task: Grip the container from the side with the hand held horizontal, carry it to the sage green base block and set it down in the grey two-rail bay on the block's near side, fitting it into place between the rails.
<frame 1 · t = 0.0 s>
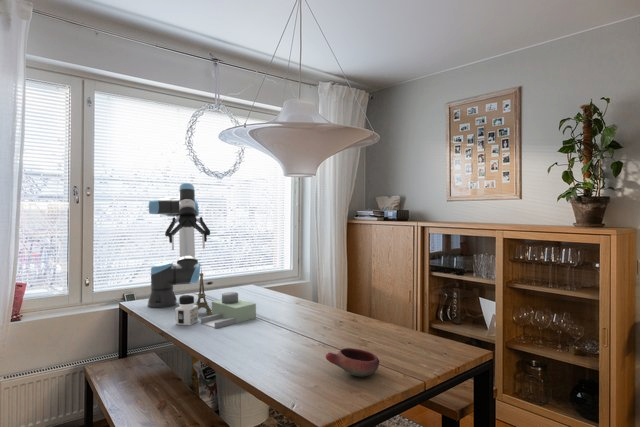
hand: (188, 247, 191), 36 cm above the table, tool tilted 35°, fingers open, 13 cm apart
eiffel tower: (202, 314, 212), on the table
bowl: (355, 376, 133), on the table
sage green base block: (233, 316, 205), on the table
container: (187, 323, 195), on the table
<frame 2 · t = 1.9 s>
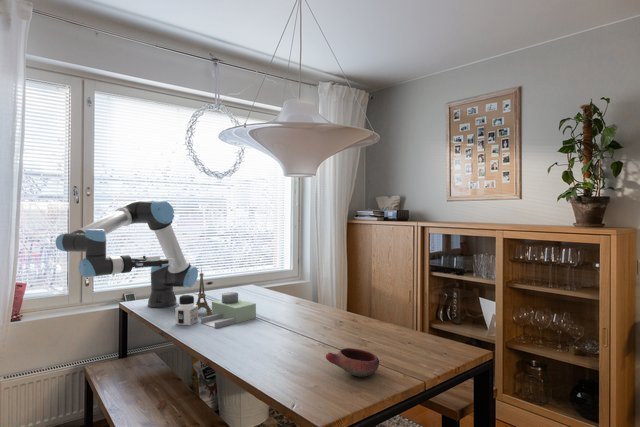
hand: (166, 259, 194), 30 cm above the table, tool horizontal, fingers open, 13 cm apart
nothing on the table moved.
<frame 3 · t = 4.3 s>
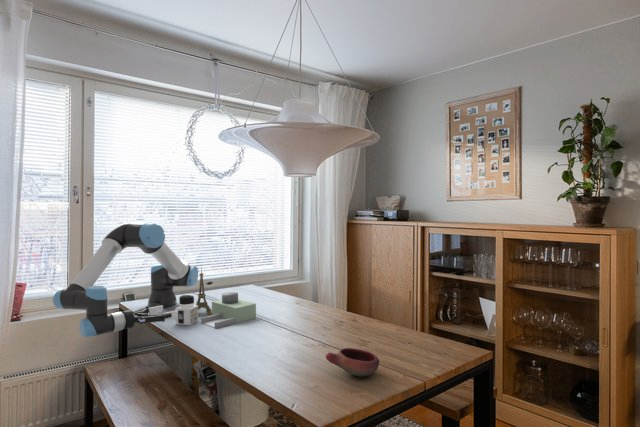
hand: (169, 310, 189), 7 cm above the table, tool horizontal, fingers open, 13 cm apart
nothing on the table moved.
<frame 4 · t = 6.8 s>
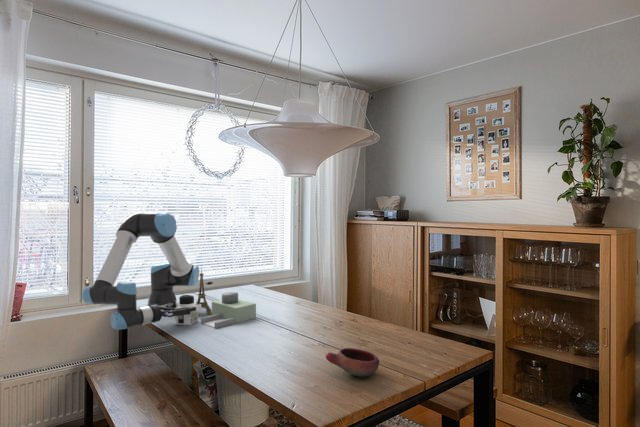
hand: (194, 305, 198), 8 cm above the table, tool horizontal, fingers closed on container, 10 cm apart
container: (187, 323, 195), on the table, touching gripper
everything else where it was.
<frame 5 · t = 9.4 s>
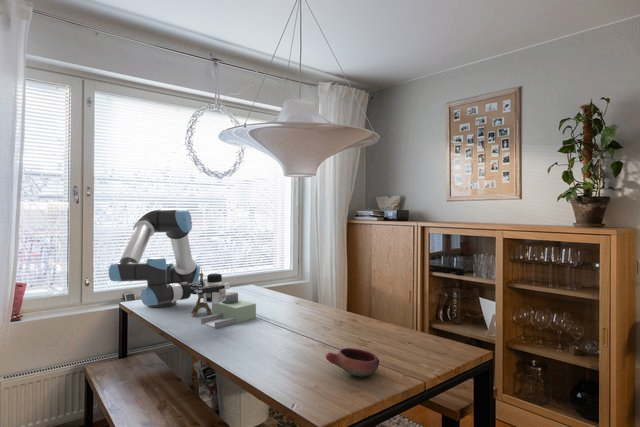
hand: (222, 284, 196), 18 cm above the table, tool horizontal, fingers closed on container, 10 cm apart
container: (214, 302, 193), point 10 cm above the table, touching gripper
everything else where it was.
when the fingers open (9 cm above the table, at t = 12.1 s): container stays where it is, resting on sage green base block.
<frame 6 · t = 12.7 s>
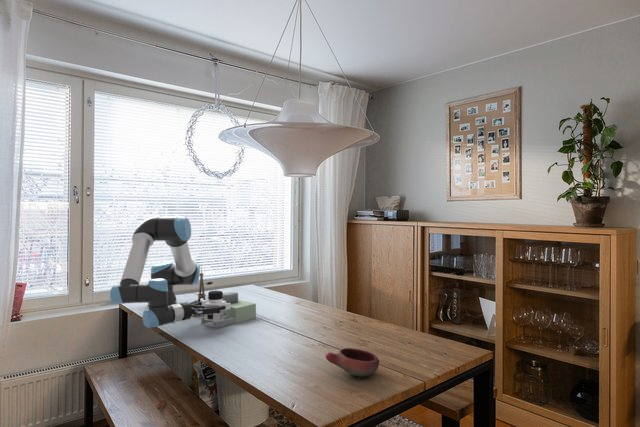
hand: (221, 303, 195), 9 cm above the table, tool horizontal, fingers open, 13 cm apart
container: (215, 319, 193), point 2 cm above the table, touching sage green base block
everything else where it was.
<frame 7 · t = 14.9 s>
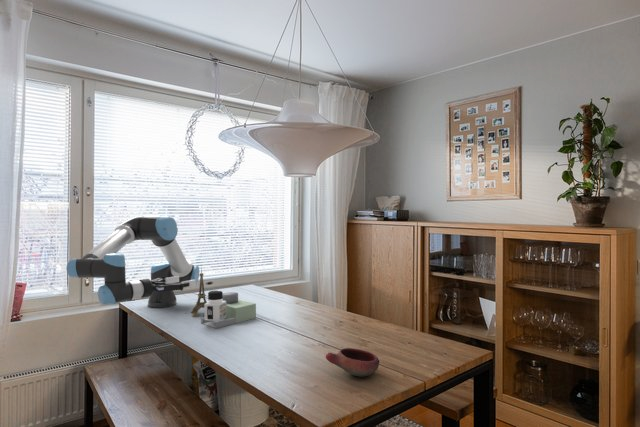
hand: (186, 280, 186), 22 cm above the table, tool horizontal, fingers open, 13 cm apart
nothing on the table moved.
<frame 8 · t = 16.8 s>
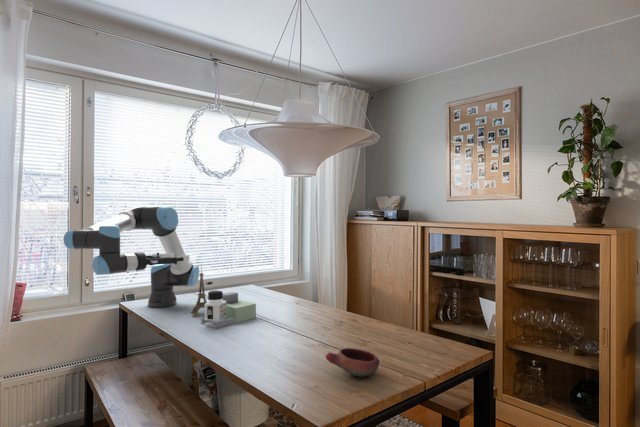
hand: (181, 256, 189), 32 cm above the table, tool horizontal, fingers open, 13 cm apart
nothing on the table moved.
at the end: container inside the target area (0.6 cm from its centre), point 2.3 cm above the table; container tilted 0°; the gripper is holding nothing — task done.
